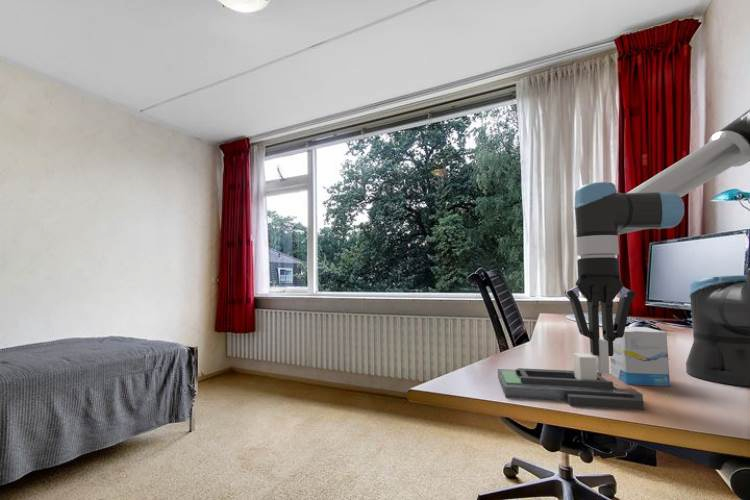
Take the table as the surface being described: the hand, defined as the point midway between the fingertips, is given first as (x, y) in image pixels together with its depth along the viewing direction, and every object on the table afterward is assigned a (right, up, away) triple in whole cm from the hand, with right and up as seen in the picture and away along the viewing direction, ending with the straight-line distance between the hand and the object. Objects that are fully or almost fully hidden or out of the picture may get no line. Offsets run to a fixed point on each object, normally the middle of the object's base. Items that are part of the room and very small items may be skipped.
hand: (602, 371), depth 74 cm
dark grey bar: (-5, -4, -8) cm, 10 cm away
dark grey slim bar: (-4, -5, +10) cm, 12 cm away
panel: (-8, -4, +1) cm, 9 cm away
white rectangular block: (-3, -2, +1) cm, 4 cm away
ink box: (+13, -5, +8) cm, 16 cm away
